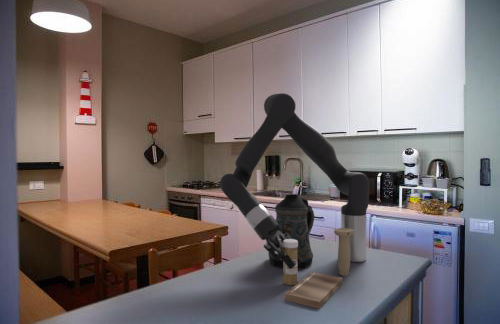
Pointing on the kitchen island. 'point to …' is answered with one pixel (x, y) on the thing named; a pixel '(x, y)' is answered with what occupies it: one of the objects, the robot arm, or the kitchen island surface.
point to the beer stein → (295, 227)
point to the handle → (344, 250)
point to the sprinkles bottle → (291, 251)
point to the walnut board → (314, 289)
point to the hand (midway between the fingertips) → (296, 264)
